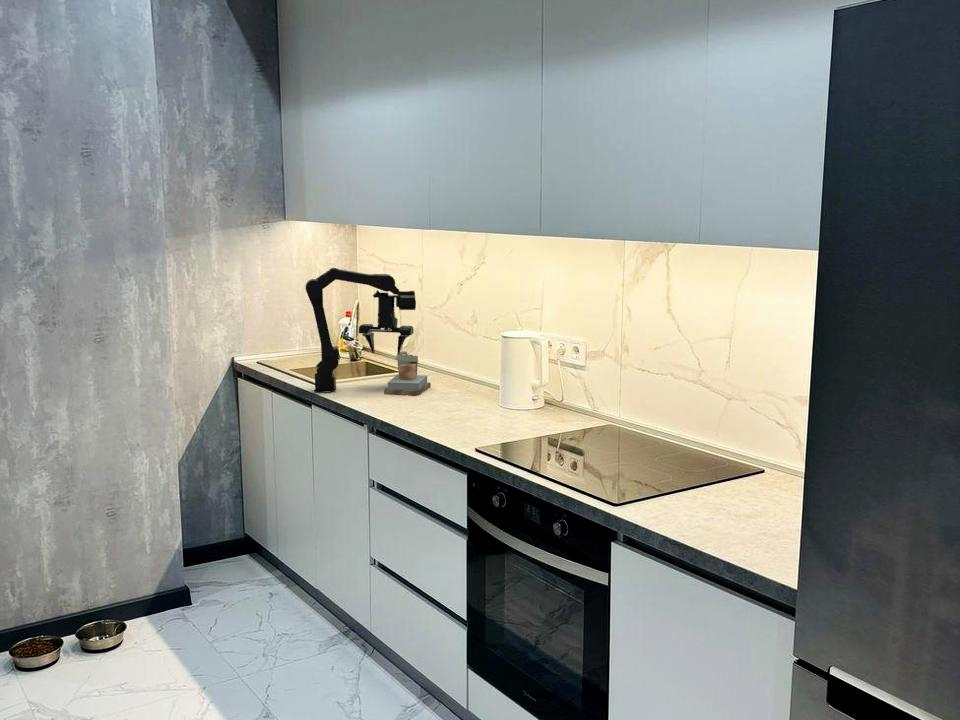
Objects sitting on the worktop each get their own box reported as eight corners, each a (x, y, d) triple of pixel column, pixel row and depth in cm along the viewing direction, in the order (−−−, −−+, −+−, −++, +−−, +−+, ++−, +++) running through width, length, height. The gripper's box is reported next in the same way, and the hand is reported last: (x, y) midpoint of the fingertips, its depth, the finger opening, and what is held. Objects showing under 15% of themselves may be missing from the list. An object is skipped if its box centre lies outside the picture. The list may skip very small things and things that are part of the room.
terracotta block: (399, 379, 344) (398, 365, 343) (403, 377, 349) (402, 363, 348) (412, 380, 343) (412, 366, 342) (416, 377, 348) (416, 363, 347)
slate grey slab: (387, 389, 340) (387, 382, 340) (397, 381, 355) (397, 374, 354) (418, 390, 339) (418, 383, 338) (427, 382, 353) (427, 375, 353)
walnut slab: (384, 396, 341) (383, 389, 340) (399, 387, 356) (398, 380, 356) (416, 398, 338) (416, 391, 337) (430, 389, 353) (430, 382, 353)
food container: (391, 378, 370) (390, 352, 369) (406, 377, 373) (406, 351, 371) (402, 384, 359) (402, 357, 358) (418, 382, 362) (418, 355, 360)
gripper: (416, 308, 353) (416, 351, 355) (366, 306, 355) (366, 349, 358) (410, 312, 342) (409, 356, 344) (358, 310, 344) (358, 353, 347)
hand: (386, 353), depth 348 cm, fingers open, 9 cm apart
